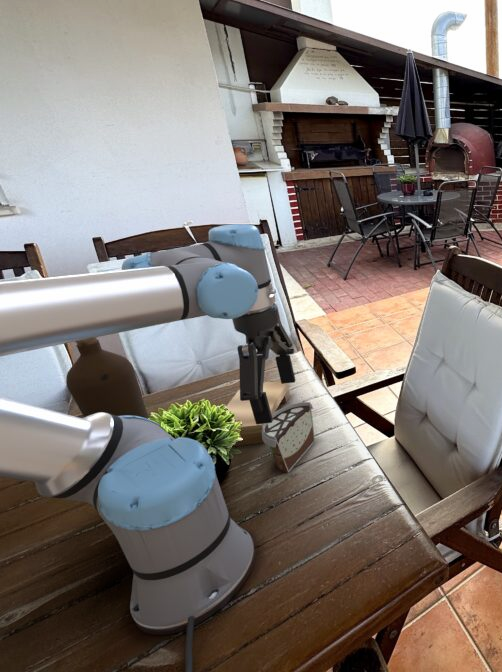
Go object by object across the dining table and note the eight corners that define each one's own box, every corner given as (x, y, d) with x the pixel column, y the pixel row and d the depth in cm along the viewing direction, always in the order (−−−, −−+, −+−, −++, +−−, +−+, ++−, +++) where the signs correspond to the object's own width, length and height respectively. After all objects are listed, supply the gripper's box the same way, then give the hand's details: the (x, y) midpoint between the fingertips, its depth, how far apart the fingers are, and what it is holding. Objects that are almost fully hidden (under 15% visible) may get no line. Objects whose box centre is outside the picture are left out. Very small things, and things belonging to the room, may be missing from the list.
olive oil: (165, 417, 99) (131, 327, 90) (122, 448, 89) (80, 350, 80) (126, 415, 100) (89, 325, 91) (79, 446, 90) (33, 348, 81)
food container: (294, 434, 93) (286, 398, 90) (319, 436, 93) (311, 400, 89) (256, 475, 82) (245, 435, 78) (283, 478, 81) (273, 439, 78)
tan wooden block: (266, 442, 91) (261, 424, 89) (212, 448, 89) (206, 430, 87) (292, 395, 107) (288, 380, 106) (247, 400, 106) (243, 384, 104)
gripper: (247, 335, 64) (274, 440, 72) (296, 283, 87) (313, 367, 95) (195, 339, 63) (229, 445, 70) (259, 285, 86) (279, 370, 93)
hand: (277, 400), depth 83 cm, fingers open, 13 cm apart
